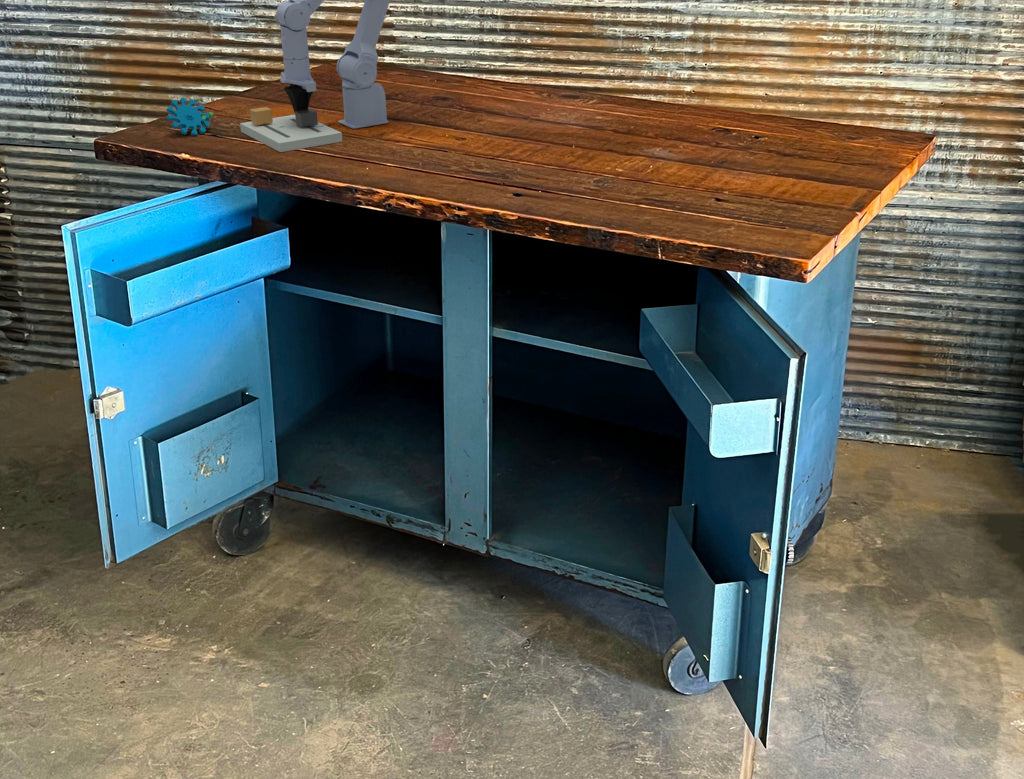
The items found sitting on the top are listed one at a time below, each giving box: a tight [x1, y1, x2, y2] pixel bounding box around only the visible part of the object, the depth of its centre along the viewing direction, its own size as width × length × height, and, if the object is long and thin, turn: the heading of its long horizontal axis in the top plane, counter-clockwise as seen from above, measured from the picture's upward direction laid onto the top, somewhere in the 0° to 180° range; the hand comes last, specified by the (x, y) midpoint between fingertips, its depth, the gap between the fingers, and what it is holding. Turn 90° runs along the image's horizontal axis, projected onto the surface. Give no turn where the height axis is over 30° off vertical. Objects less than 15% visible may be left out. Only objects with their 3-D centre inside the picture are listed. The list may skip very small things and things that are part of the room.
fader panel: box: [239, 114, 343, 153], centre depth 280 cm, size 15×22×2 cm
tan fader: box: [249, 106, 273, 125], centre depth 283 cm, size 4×3×3 cm
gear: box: [166, 97, 214, 137], centre depth 286 cm, size 11×6×10 cm
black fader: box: [294, 108, 319, 127], centre depth 280 cm, size 4×3×3 cm
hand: (301, 117), depth 282 cm, fingers closed
